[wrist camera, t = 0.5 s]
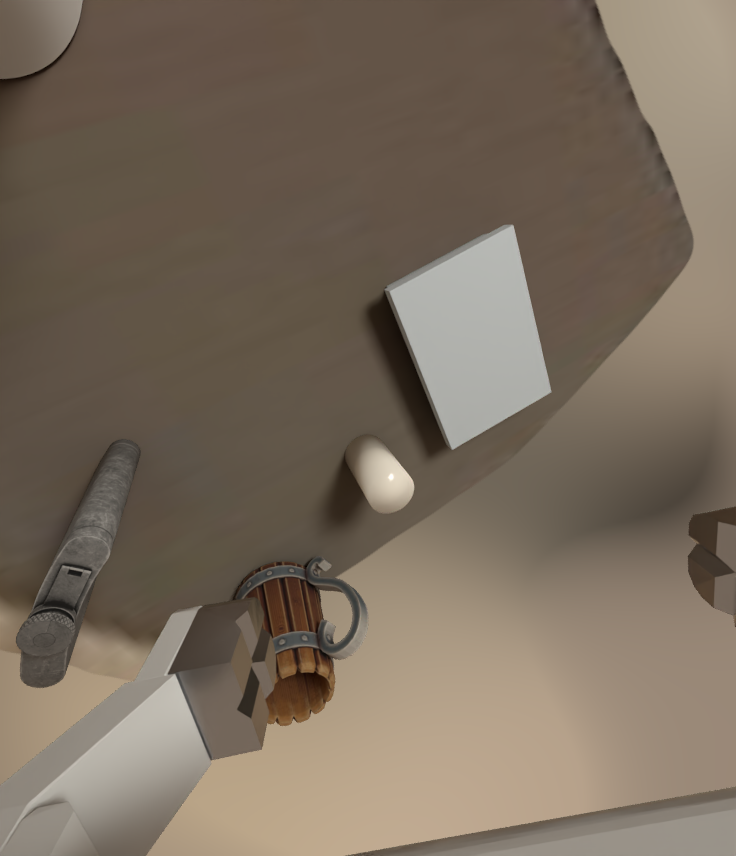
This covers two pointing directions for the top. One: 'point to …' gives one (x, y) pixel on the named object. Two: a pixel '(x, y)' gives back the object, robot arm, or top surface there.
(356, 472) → the white rounded cylinder
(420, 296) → the shelf
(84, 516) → the flask
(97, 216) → the top surface
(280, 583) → the mug
